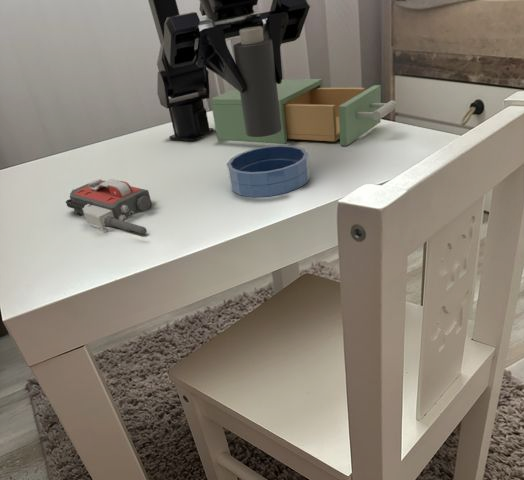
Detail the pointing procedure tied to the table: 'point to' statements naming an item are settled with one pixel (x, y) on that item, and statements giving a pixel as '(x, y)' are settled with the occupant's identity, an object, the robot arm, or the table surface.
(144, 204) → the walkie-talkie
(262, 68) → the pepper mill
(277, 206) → the table surface
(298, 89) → the cabinet
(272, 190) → the bowl
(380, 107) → the drawer
